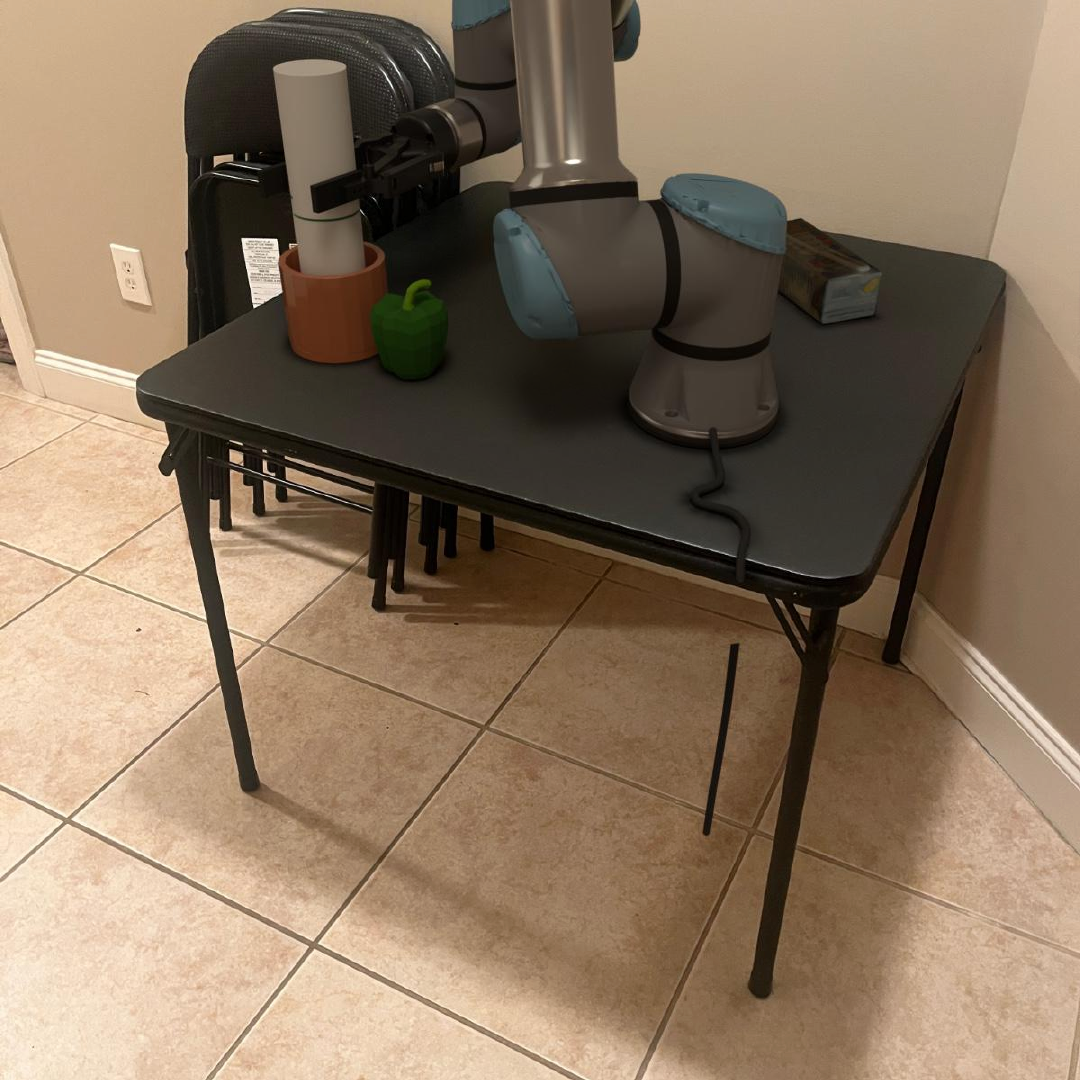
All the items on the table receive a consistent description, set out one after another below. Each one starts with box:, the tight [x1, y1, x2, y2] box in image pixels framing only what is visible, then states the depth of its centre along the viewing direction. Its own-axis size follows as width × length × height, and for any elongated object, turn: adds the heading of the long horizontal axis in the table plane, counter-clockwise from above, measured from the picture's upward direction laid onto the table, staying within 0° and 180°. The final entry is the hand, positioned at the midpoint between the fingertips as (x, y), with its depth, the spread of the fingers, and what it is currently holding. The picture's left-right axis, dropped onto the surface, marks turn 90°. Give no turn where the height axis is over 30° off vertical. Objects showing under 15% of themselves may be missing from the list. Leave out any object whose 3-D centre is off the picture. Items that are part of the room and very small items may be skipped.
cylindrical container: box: [272, 58, 366, 276], centre depth 109 cm, size 7×7×25 cm
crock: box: [277, 240, 389, 364], centre depth 116 cm, size 12×12×10 cm
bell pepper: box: [370, 278, 449, 380], centre depth 110 cm, size 8×8×10 cm
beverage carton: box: [778, 217, 883, 325], centre depth 129 cm, size 8×19×7 cm, turn 19°
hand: (287, 191), depth 105 cm, fingers closed on cylindrical container, 7 cm apart
